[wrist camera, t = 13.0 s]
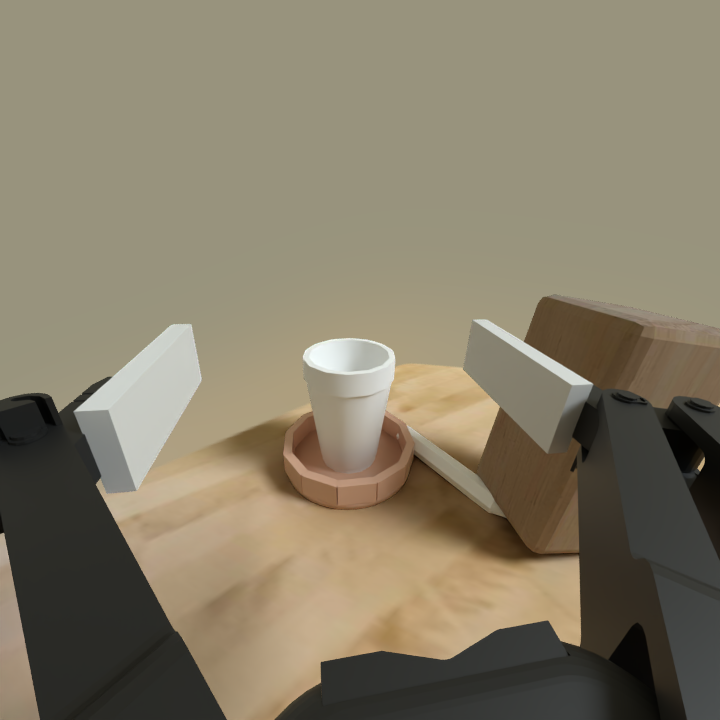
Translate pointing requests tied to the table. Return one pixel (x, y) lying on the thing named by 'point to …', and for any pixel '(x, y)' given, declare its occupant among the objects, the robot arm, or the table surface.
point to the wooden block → (606, 371)
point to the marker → (454, 472)
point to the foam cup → (348, 399)
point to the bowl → (342, 487)
